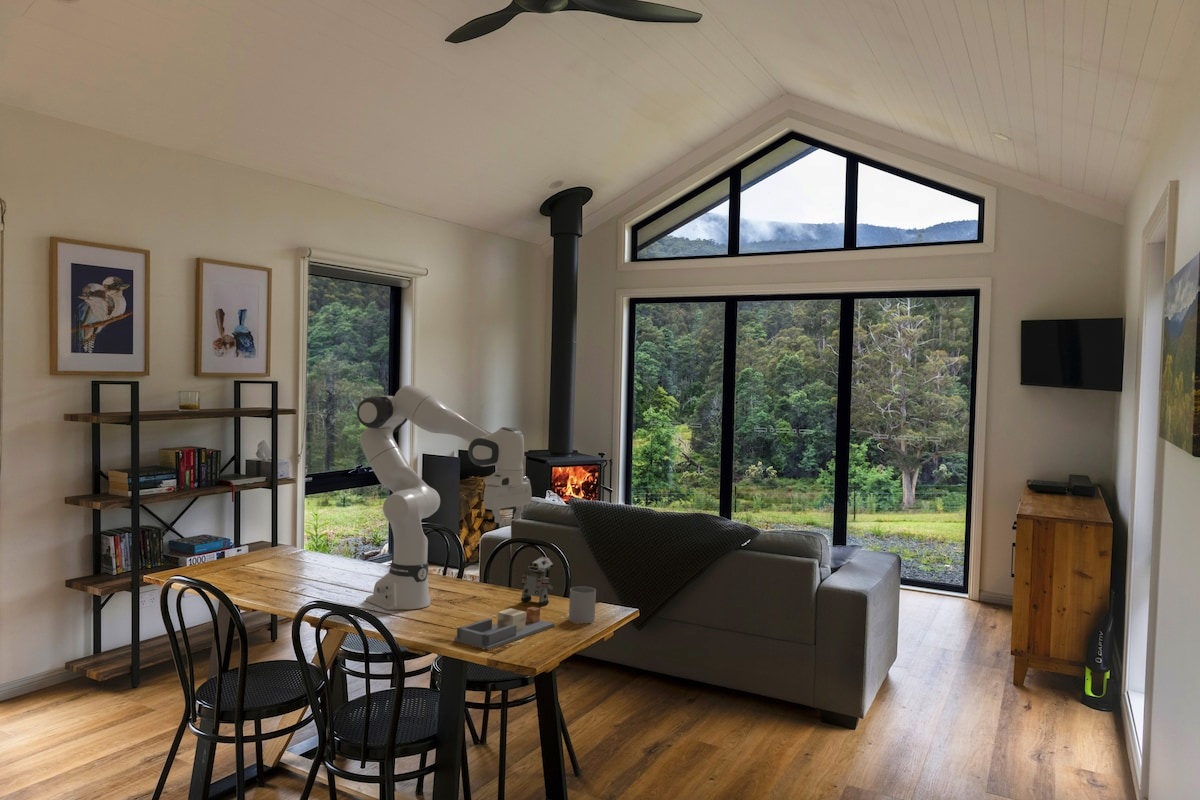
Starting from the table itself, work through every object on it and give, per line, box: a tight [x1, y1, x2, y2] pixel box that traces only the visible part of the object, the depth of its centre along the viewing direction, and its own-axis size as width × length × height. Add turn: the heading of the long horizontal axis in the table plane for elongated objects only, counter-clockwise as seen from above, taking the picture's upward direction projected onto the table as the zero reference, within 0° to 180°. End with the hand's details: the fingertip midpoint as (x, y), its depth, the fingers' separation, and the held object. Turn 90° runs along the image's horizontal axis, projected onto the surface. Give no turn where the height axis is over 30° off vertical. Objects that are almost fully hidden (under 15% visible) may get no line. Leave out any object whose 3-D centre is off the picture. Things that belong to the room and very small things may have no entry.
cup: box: [568, 585, 597, 625], centre depth 264 cm, size 8×8×10 cm
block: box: [496, 606, 541, 631], centre depth 252 cm, size 6×15×5 cm, turn 146°
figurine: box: [520, 556, 554, 607], centre depth 284 cm, size 9×12×15 cm
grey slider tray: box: [453, 618, 555, 651], centre depth 246 cm, size 13×31×4 cm, turn 146°
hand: (507, 520), depth 263 cm, fingers open, 8 cm apart
